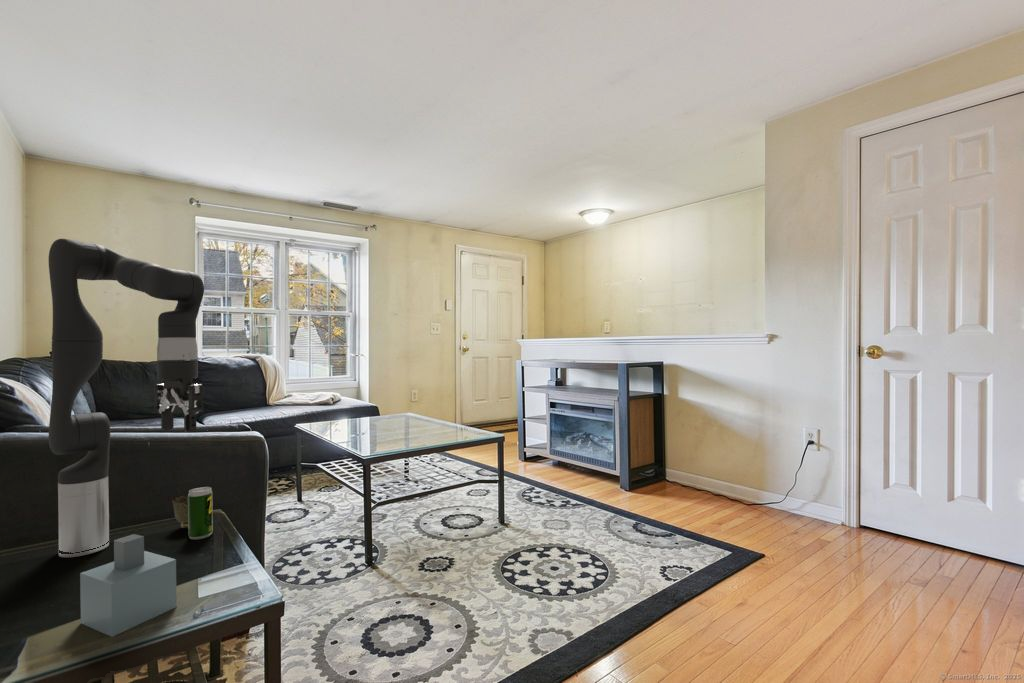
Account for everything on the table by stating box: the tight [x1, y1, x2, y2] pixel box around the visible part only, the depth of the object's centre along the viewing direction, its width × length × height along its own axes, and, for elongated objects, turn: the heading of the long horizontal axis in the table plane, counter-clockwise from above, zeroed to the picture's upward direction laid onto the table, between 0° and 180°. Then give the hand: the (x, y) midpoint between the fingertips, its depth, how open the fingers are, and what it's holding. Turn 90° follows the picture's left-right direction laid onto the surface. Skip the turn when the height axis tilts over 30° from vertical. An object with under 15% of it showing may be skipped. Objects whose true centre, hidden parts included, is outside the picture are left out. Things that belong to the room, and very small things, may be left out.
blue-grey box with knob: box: [79, 533, 178, 638], centre depth 88 cm, size 10×10×14 cm
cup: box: [171, 495, 188, 529], centre depth 133 cm, size 8×7×8 cm
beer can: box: [187, 486, 214, 540], centre depth 126 cm, size 5×5×12 cm
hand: (178, 430), depth 108 cm, fingers open, 8 cm apart
